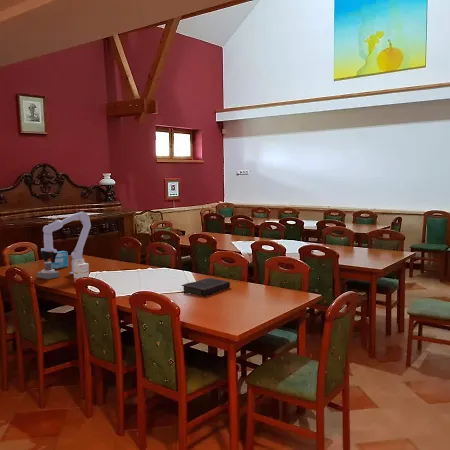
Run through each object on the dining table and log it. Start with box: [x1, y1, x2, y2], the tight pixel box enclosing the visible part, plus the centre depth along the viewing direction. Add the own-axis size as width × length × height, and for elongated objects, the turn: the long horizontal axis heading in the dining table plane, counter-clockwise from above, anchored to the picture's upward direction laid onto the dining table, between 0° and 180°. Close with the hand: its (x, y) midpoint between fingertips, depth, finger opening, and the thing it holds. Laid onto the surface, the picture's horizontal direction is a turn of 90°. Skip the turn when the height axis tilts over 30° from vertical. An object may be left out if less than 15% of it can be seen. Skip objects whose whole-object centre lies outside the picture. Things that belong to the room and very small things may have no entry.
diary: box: [180, 277, 231, 297], centre depth 281 cm, size 19×25×5 cm
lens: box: [43, 260, 53, 271], centre depth 324 cm, size 5×5×7 cm
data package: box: [51, 250, 69, 270], centre depth 358 cm, size 12×4×12 cm, turn 140°
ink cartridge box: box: [73, 257, 90, 283], centre depth 309 cm, size 9×5×15 cm, turn 141°
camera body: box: [36, 268, 60, 280], centre depth 324 cm, size 12×9×5 cm
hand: (49, 262), depth 326 cm, fingers open, 7 cm apart
